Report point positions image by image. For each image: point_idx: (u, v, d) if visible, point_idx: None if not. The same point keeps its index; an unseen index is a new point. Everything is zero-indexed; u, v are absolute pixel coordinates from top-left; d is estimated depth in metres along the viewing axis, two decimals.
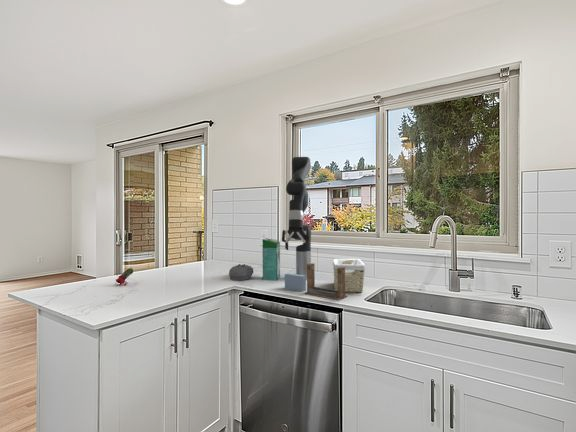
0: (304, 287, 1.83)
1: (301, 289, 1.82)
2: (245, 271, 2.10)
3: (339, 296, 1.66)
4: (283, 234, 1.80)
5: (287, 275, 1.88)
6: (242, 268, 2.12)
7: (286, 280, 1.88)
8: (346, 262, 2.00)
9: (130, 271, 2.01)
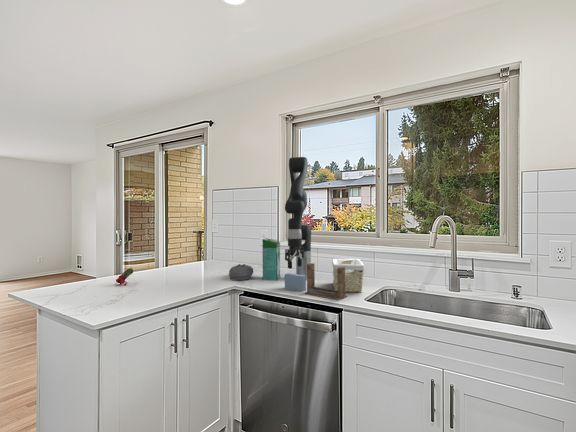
0: (304, 287, 1.83)
1: (301, 289, 1.82)
2: (245, 271, 2.10)
3: (339, 296, 1.66)
4: (289, 253, 1.80)
5: (287, 275, 1.88)
6: (242, 268, 2.12)
7: (286, 280, 1.88)
8: (345, 262, 2.00)
9: (130, 271, 2.01)
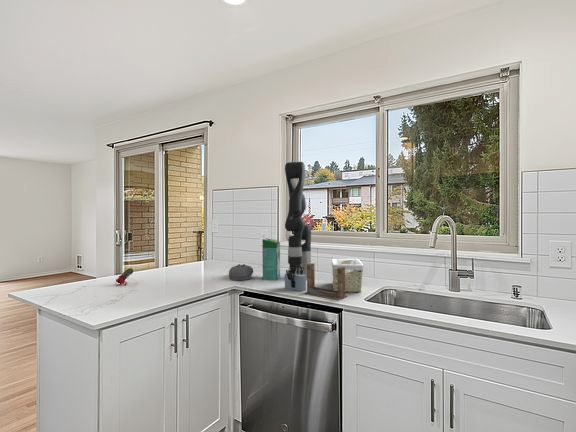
0: (304, 286, 1.83)
1: (301, 289, 1.82)
2: (245, 271, 2.10)
3: (339, 296, 1.66)
4: (290, 274, 1.81)
5: None
6: (242, 268, 2.12)
7: (286, 280, 1.88)
8: (345, 262, 2.00)
9: (130, 271, 2.01)
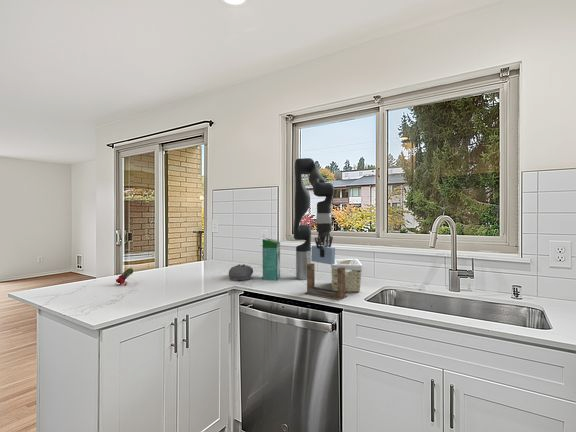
0: (333, 259, 1.70)
1: (330, 262, 1.69)
2: (245, 271, 2.10)
3: (339, 296, 1.66)
4: (320, 242, 1.68)
5: (314, 247, 1.74)
6: (242, 268, 2.12)
7: (313, 252, 1.75)
8: (344, 262, 2.00)
9: (130, 271, 2.01)
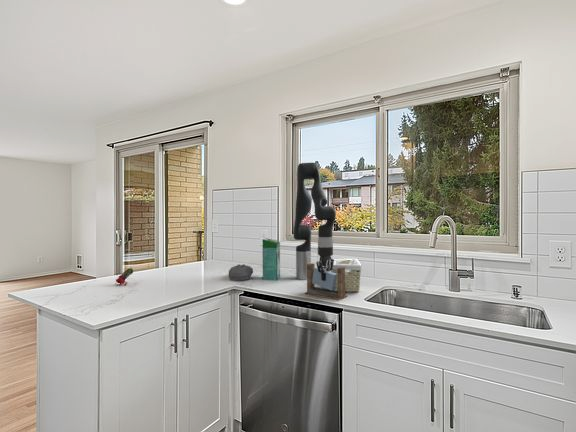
0: (333, 285, 1.70)
1: (330, 288, 1.69)
2: (245, 271, 2.09)
3: (339, 296, 1.66)
4: (321, 266, 1.68)
5: (317, 270, 1.74)
6: (242, 268, 2.11)
7: (315, 275, 1.75)
8: (343, 262, 2.01)
9: (130, 271, 2.01)
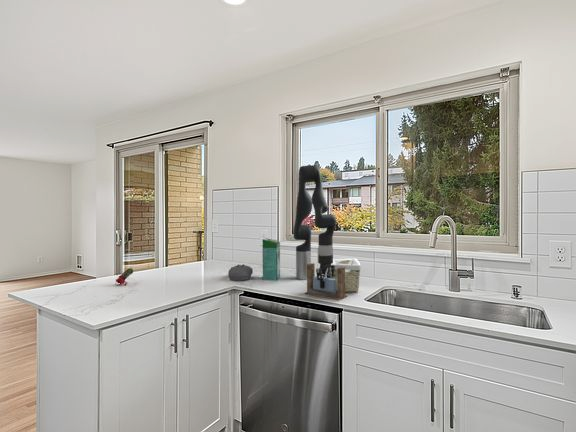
0: (335, 291, 1.70)
1: None
2: (244, 271, 2.09)
3: (339, 296, 1.66)
4: (321, 273, 1.68)
5: (316, 278, 1.75)
6: (241, 268, 2.11)
7: (315, 284, 1.75)
8: (343, 262, 2.01)
9: (130, 271, 2.01)
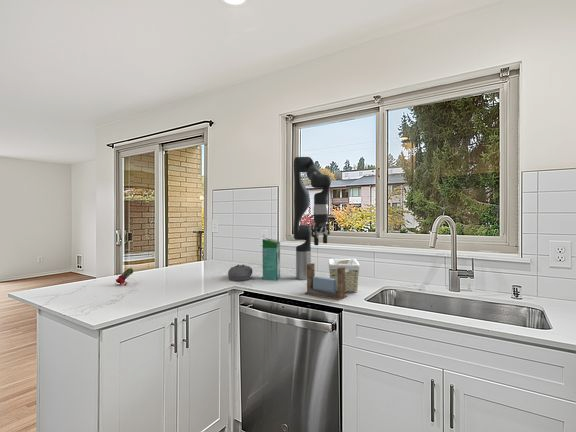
0: (335, 291, 1.70)
1: None
2: (244, 271, 2.09)
3: (339, 296, 1.66)
4: (316, 229, 1.73)
5: (316, 278, 1.75)
6: (241, 268, 2.11)
7: (315, 284, 1.75)
8: (342, 262, 2.01)
9: (130, 271, 2.01)
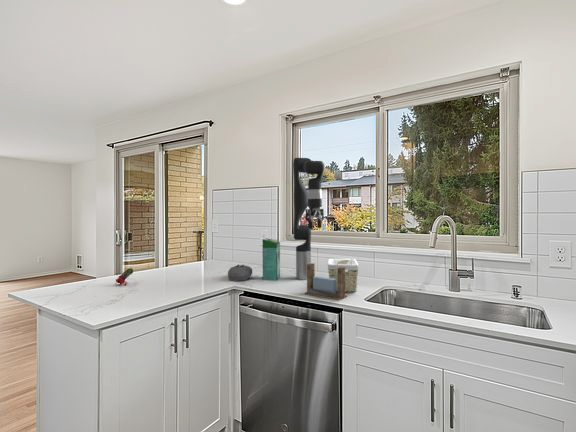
0: (335, 291, 1.70)
1: None
2: (244, 272, 2.09)
3: (339, 296, 1.66)
4: (310, 213, 1.79)
5: (316, 278, 1.75)
6: (241, 269, 2.10)
7: (315, 284, 1.75)
8: (341, 262, 2.01)
9: (130, 271, 2.01)
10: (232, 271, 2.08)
